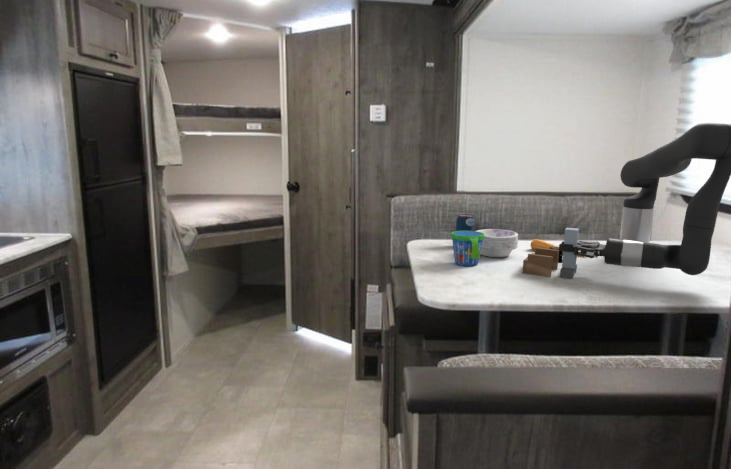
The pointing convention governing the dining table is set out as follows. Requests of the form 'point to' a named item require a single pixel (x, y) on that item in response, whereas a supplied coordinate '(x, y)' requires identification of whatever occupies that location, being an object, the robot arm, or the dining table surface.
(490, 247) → the paper bowls
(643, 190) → the robot arm
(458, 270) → the dining table surface
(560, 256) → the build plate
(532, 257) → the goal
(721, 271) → the dining table surface
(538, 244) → the carrot
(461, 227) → the soda can
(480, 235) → the snack cup
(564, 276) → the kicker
